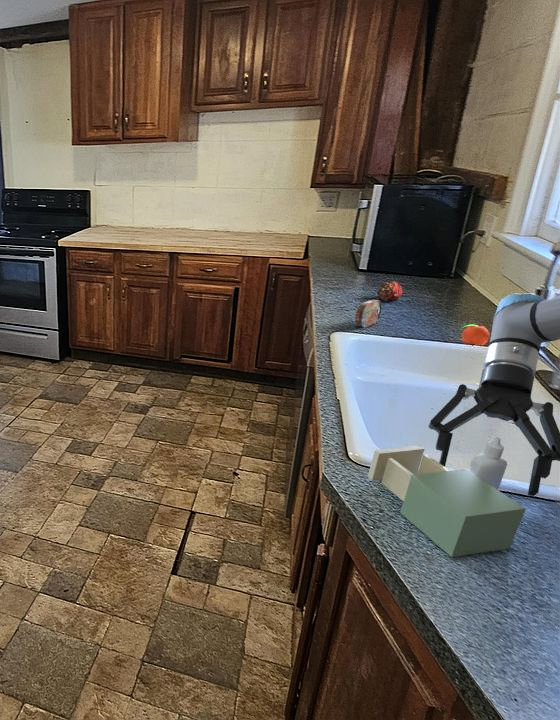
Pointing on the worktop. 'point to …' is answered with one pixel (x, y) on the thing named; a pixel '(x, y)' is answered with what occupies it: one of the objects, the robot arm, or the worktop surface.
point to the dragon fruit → (390, 291)
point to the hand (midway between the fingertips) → (485, 480)
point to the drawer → (401, 467)
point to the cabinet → (461, 512)
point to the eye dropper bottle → (490, 464)
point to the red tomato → (475, 335)
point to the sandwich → (368, 313)
